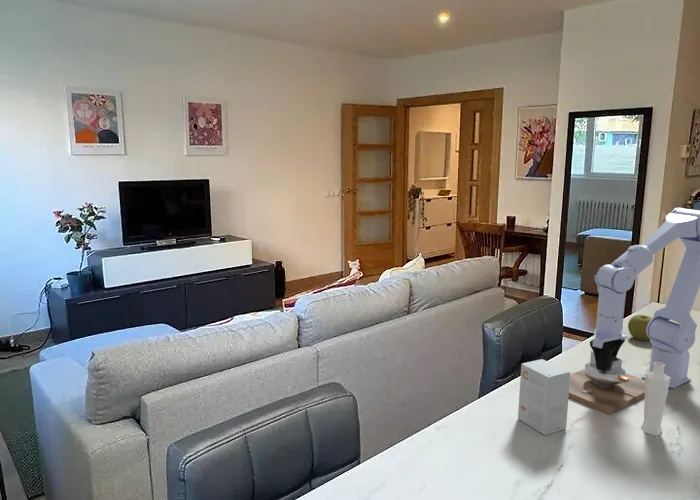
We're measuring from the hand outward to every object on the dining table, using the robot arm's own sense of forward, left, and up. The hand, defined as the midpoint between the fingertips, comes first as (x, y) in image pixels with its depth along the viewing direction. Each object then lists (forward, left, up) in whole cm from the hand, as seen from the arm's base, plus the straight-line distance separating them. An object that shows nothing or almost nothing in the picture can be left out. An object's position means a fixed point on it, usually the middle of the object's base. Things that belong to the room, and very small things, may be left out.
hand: (604, 367), depth 130 cm
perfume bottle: (+10, +17, -6) cm, 21 cm away
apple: (-43, -13, -6) cm, 45 cm away
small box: (+27, +2, -6) cm, 28 cm away
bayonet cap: (0, +1, -2) cm, 2 cm away
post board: (0, 0, -6) cm, 6 cm away
